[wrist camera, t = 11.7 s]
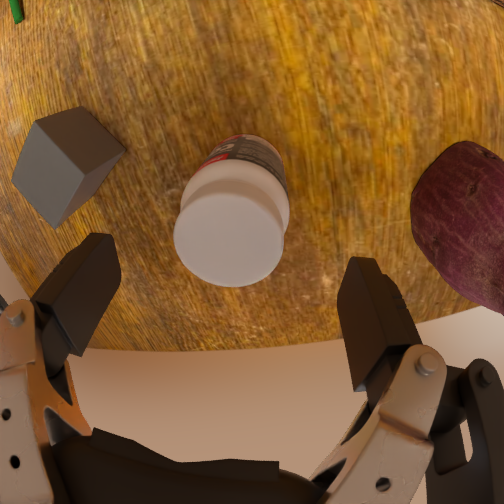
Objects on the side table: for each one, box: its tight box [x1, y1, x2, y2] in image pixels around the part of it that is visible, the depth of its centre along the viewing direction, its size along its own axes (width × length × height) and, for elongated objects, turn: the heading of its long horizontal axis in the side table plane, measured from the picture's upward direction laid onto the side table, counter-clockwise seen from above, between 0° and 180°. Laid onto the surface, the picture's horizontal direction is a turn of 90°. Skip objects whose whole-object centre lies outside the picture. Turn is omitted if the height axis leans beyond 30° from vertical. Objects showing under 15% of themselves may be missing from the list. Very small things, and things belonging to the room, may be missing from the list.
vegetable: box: [411, 141, 504, 316], centre depth 12 cm, size 10×10×15 cm
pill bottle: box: [173, 134, 290, 287], centre depth 13 cm, size 5×5×8 cm
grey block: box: [11, 106, 126, 229], centre depth 14 cm, size 5×5×5 cm
